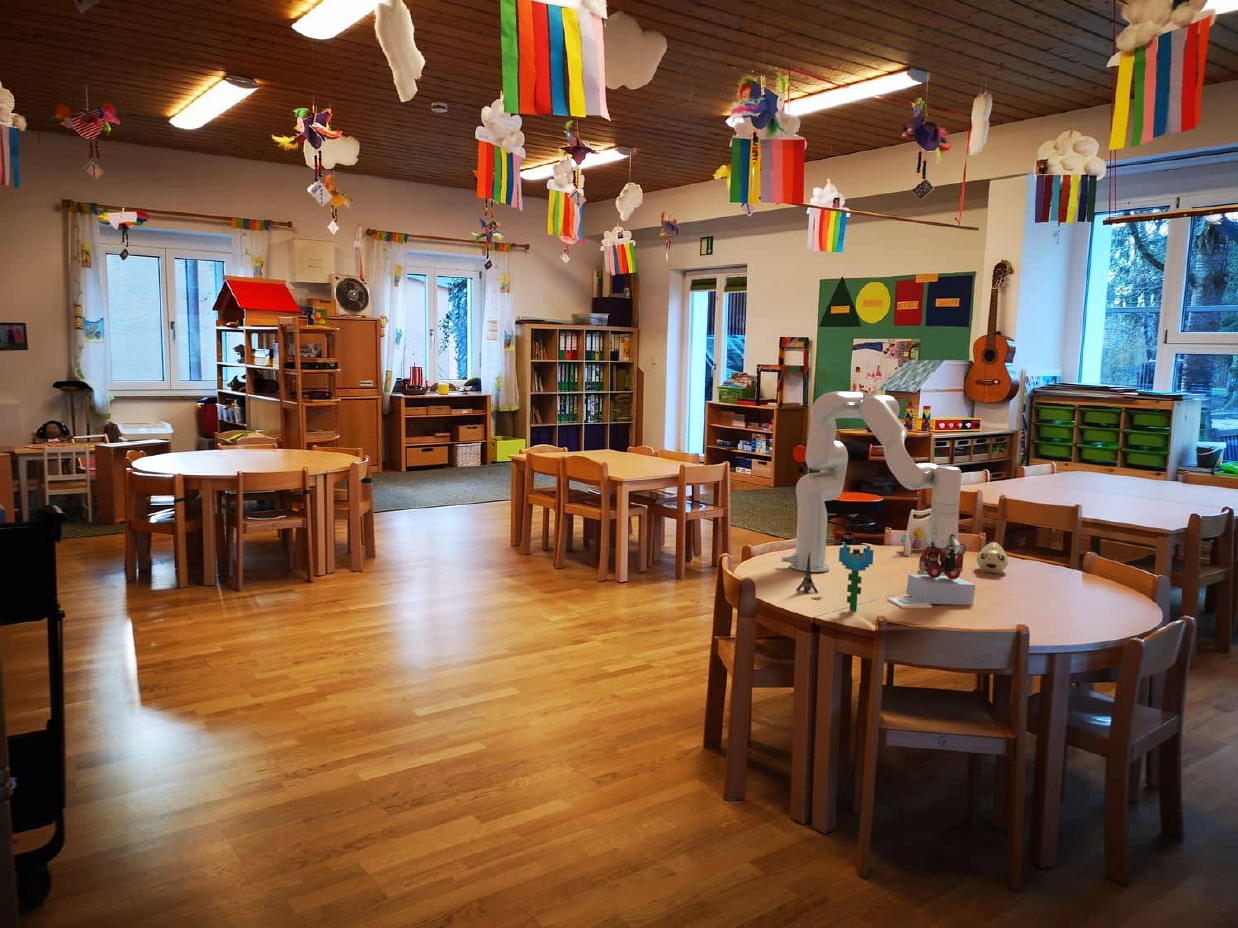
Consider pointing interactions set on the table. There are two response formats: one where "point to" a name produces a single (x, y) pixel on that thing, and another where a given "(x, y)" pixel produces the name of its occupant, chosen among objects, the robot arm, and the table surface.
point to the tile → (909, 603)
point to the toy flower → (855, 570)
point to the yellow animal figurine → (992, 558)
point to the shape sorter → (916, 533)
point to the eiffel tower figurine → (808, 581)
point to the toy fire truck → (933, 565)
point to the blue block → (940, 590)
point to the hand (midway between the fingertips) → (940, 567)
